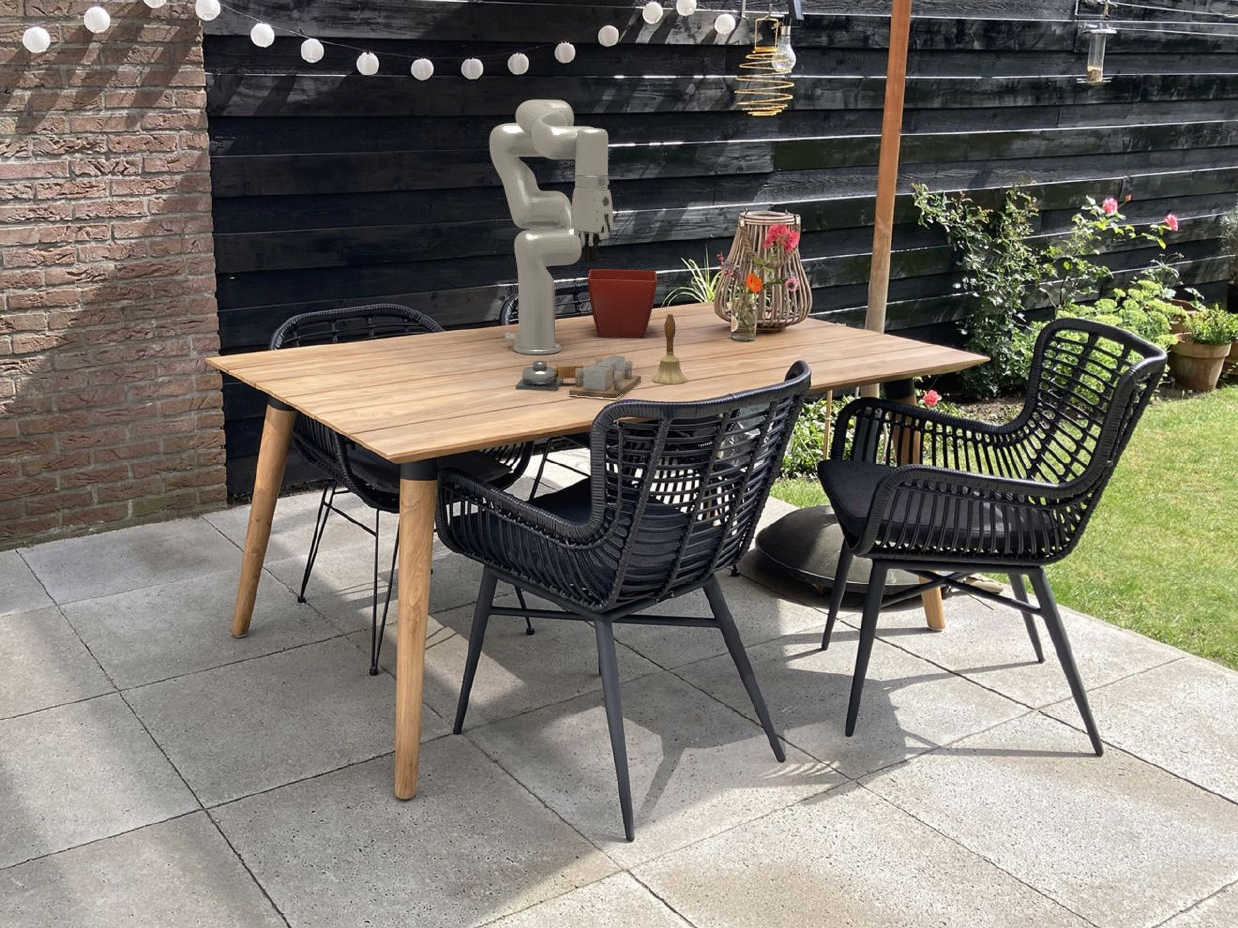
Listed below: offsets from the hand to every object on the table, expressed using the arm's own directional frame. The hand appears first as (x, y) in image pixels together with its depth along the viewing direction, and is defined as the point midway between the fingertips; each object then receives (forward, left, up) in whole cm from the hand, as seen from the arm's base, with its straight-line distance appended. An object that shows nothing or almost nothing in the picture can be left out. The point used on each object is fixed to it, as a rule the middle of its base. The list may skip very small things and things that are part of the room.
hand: (590, 262), depth 296 cm
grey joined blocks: (+9, -14, -26) cm, 30 cm away
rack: (+9, -14, -27) cm, 32 cm away
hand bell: (+20, 0, -27) cm, 34 cm away
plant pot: (-8, +53, -27) cm, 60 cm away
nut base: (-4, -16, -27) cm, 32 cm away
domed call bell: (-4, -14, -26) cm, 30 cm away
